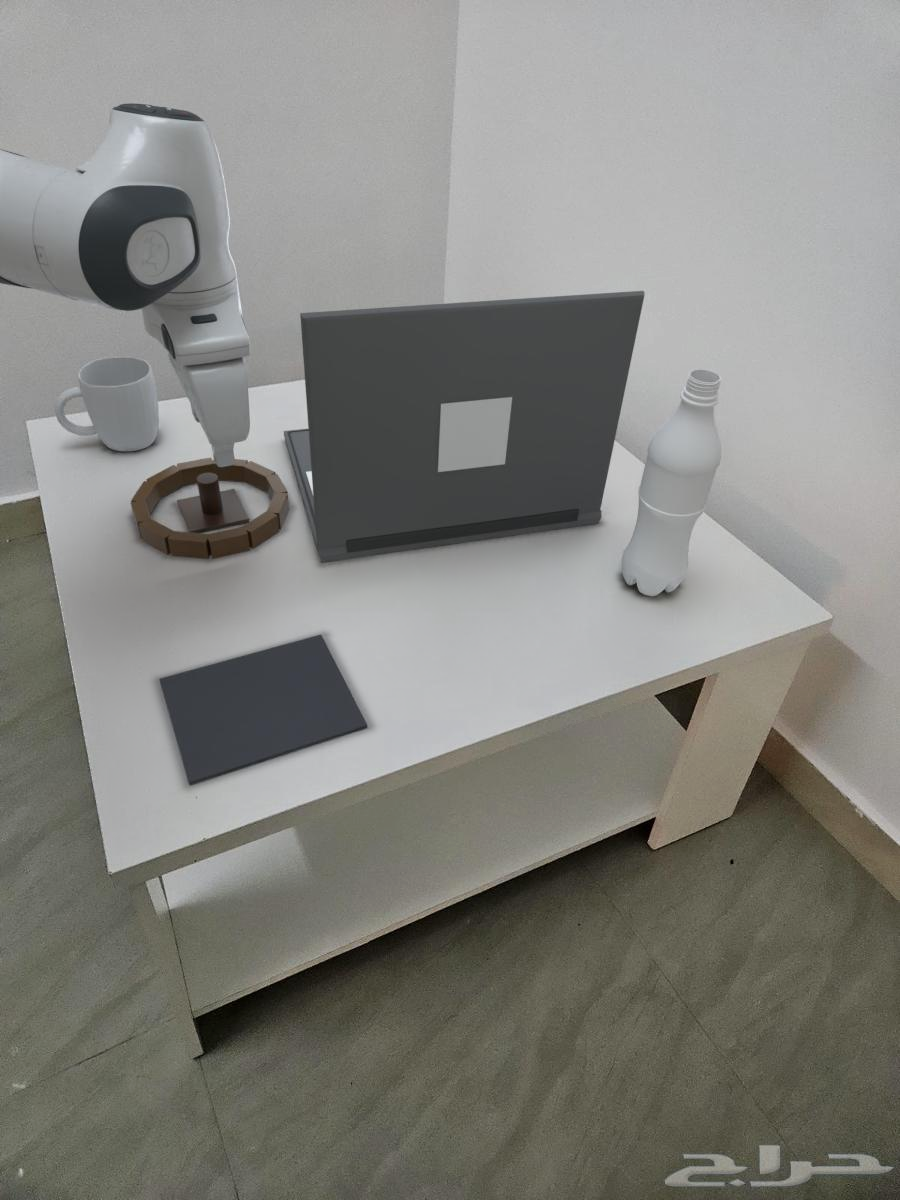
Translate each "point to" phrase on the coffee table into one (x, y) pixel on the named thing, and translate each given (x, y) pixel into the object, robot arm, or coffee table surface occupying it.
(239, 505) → the stand
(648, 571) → the water bottle
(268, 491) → the hoop
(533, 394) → the laptop
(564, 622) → the coffee table surface
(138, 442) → the mug
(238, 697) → the mat
